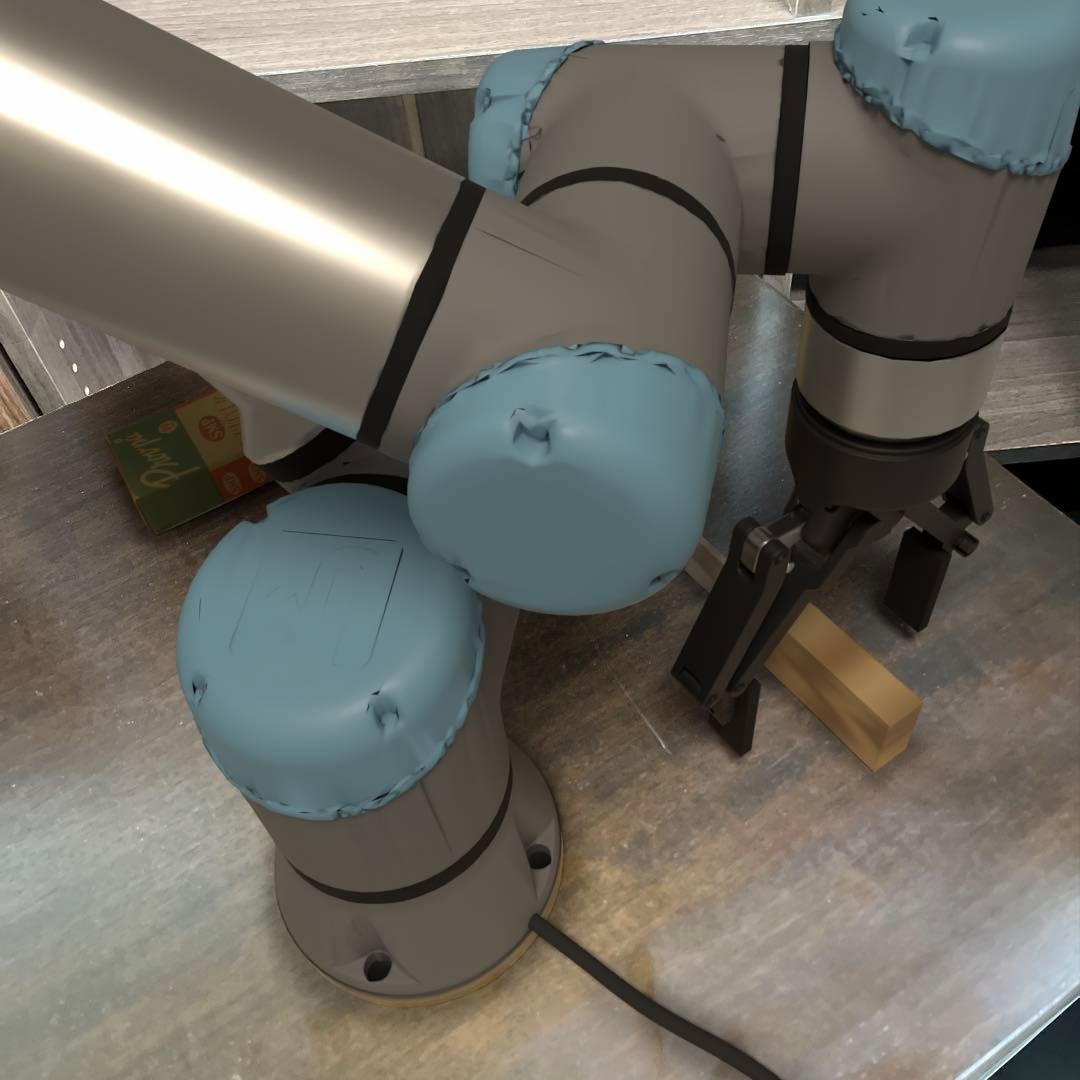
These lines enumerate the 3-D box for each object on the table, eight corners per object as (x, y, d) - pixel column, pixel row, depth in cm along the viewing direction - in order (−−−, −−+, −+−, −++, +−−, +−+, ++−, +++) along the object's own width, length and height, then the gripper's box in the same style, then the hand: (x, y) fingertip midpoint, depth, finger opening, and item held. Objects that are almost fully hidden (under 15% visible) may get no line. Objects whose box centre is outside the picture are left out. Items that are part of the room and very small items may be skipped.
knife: (906, 749, 56) (924, 701, 52) (874, 773, 55) (890, 726, 51) (679, 538, 67) (681, 487, 63) (650, 555, 66) (650, 505, 63)
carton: (353, 447, 76) (340, 406, 73) (152, 540, 72) (129, 499, 68) (311, 390, 81) (297, 349, 78) (121, 473, 76) (98, 432, 73)
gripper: (1014, 237, 47) (922, 533, 63) (587, 470, 39) (606, 741, 55) (1160, 309, 42) (1022, 608, 58) (712, 588, 35) (693, 846, 51)
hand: (820, 673), depth 57 cm, fingers open, 13 cm apart
